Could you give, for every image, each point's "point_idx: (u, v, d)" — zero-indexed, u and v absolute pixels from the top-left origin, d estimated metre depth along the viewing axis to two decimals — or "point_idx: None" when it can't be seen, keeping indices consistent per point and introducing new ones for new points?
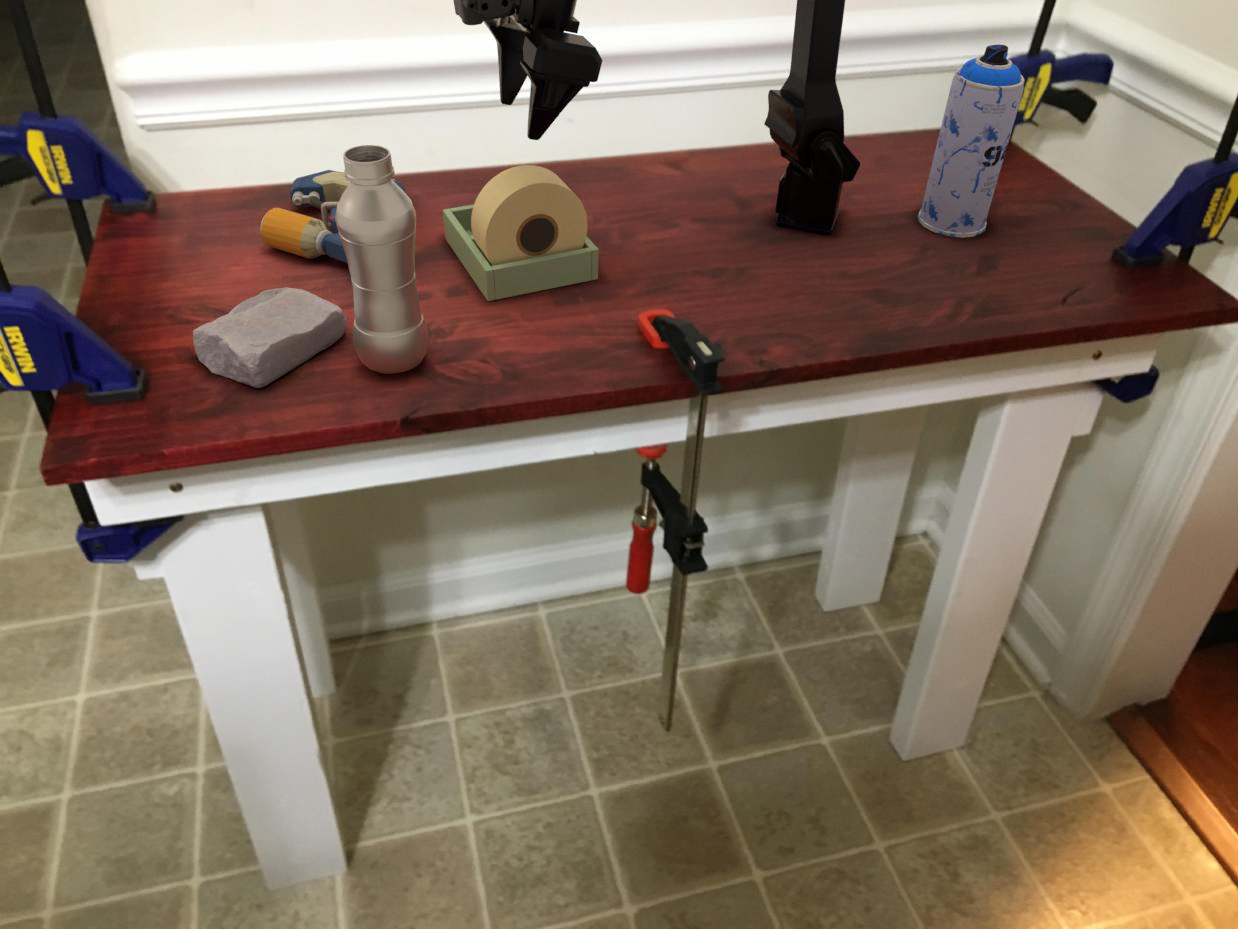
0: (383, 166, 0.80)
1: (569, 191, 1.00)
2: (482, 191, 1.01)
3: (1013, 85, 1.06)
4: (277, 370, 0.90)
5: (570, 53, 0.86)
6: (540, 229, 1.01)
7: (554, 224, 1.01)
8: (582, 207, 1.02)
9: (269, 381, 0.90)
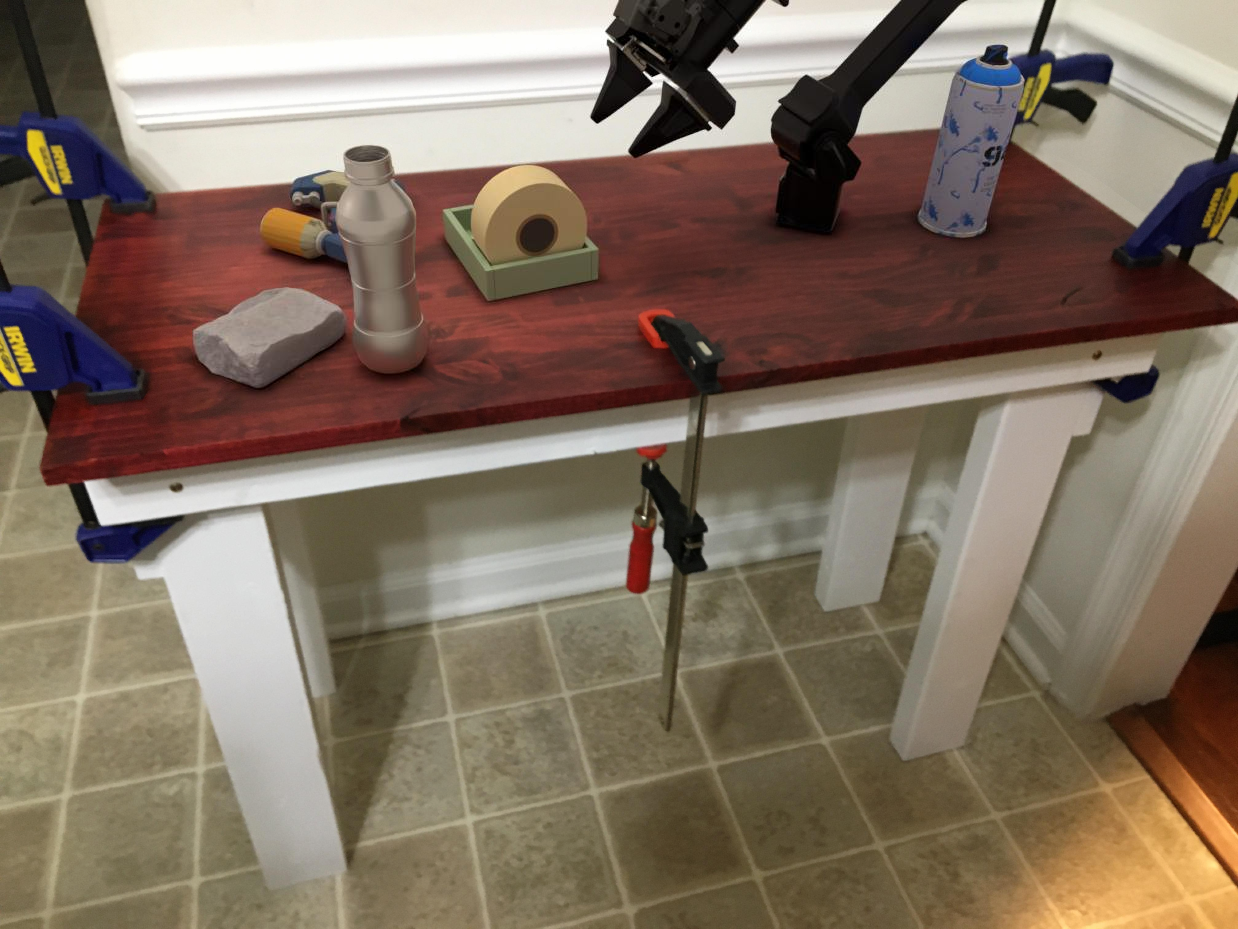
0: (383, 166, 0.80)
1: (568, 191, 1.00)
2: (482, 191, 1.01)
3: (1013, 85, 1.06)
4: (277, 370, 0.90)
5: (719, 93, 0.92)
6: (540, 229, 1.01)
7: (554, 224, 1.01)
8: (582, 207, 1.02)
9: (269, 381, 0.90)
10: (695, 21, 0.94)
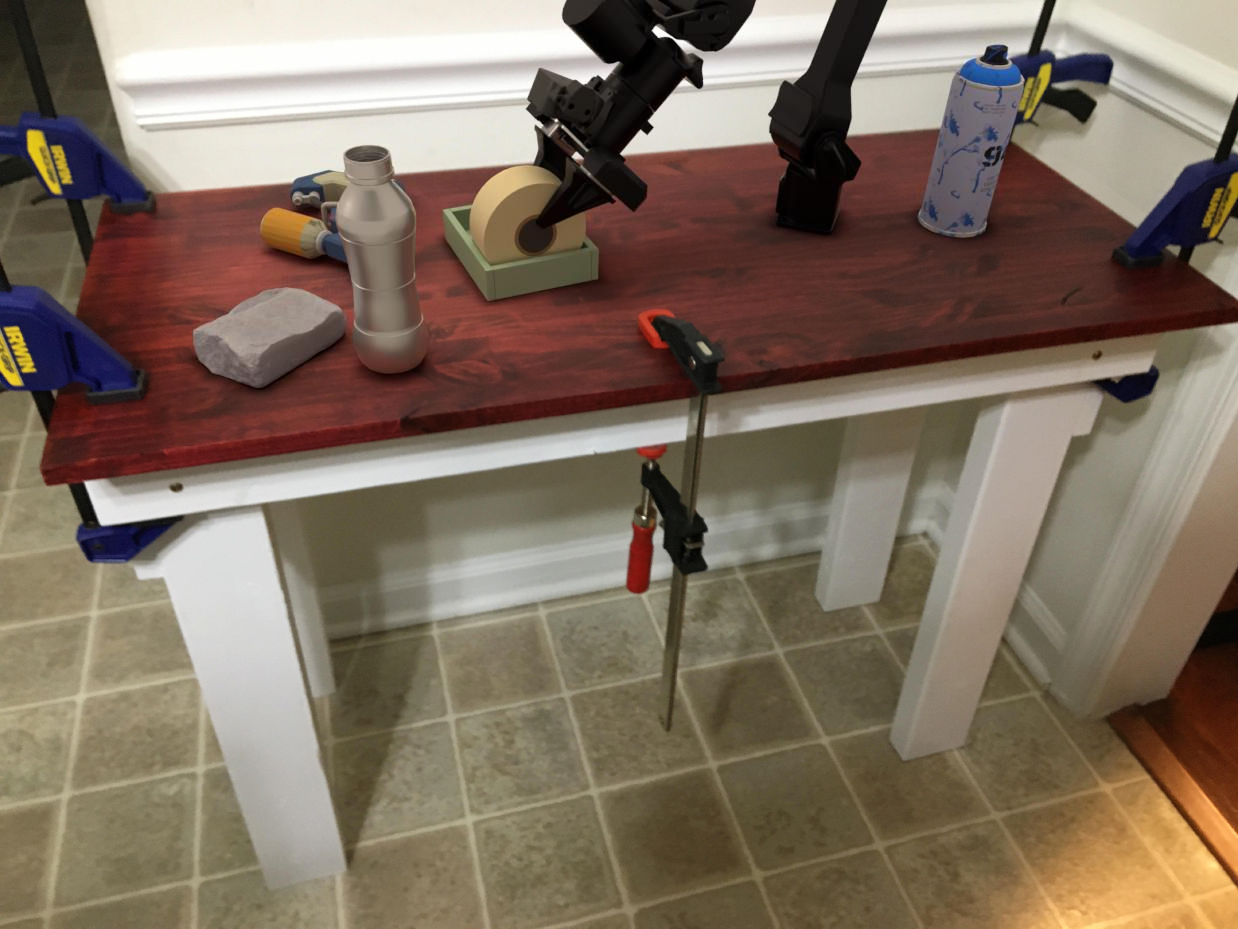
0: (383, 166, 0.80)
1: None
2: (479, 193, 1.01)
3: (1013, 85, 1.06)
4: (277, 370, 0.90)
5: (629, 179, 0.94)
6: (538, 229, 1.01)
7: None
8: None
9: (269, 381, 0.90)
10: (607, 106, 0.96)
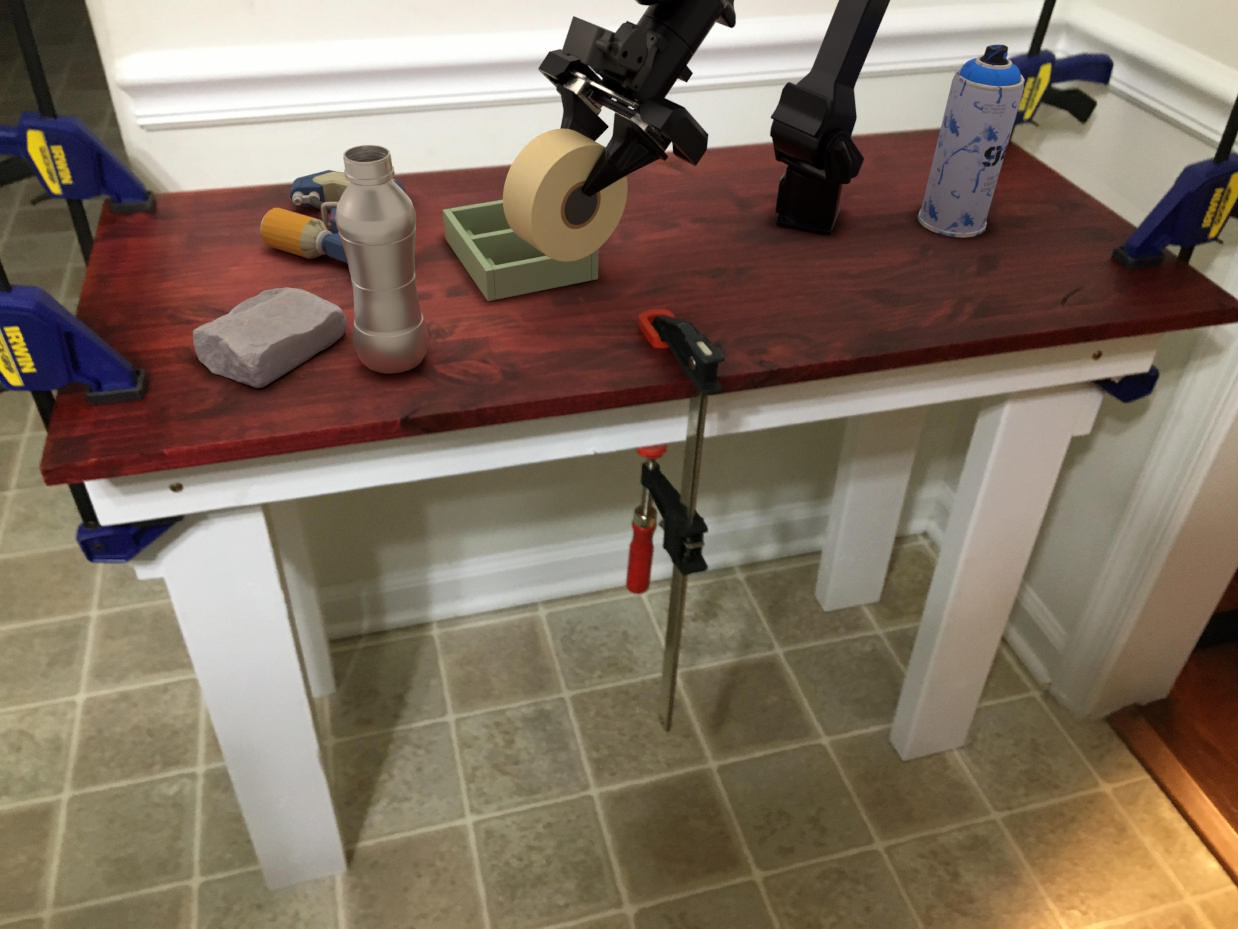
0: (383, 166, 0.80)
1: None
2: (514, 164, 0.90)
3: (1013, 85, 1.06)
4: (277, 370, 0.90)
5: (694, 128, 0.86)
6: (583, 197, 0.91)
7: None
8: None
9: (269, 381, 0.90)
10: (652, 52, 0.87)
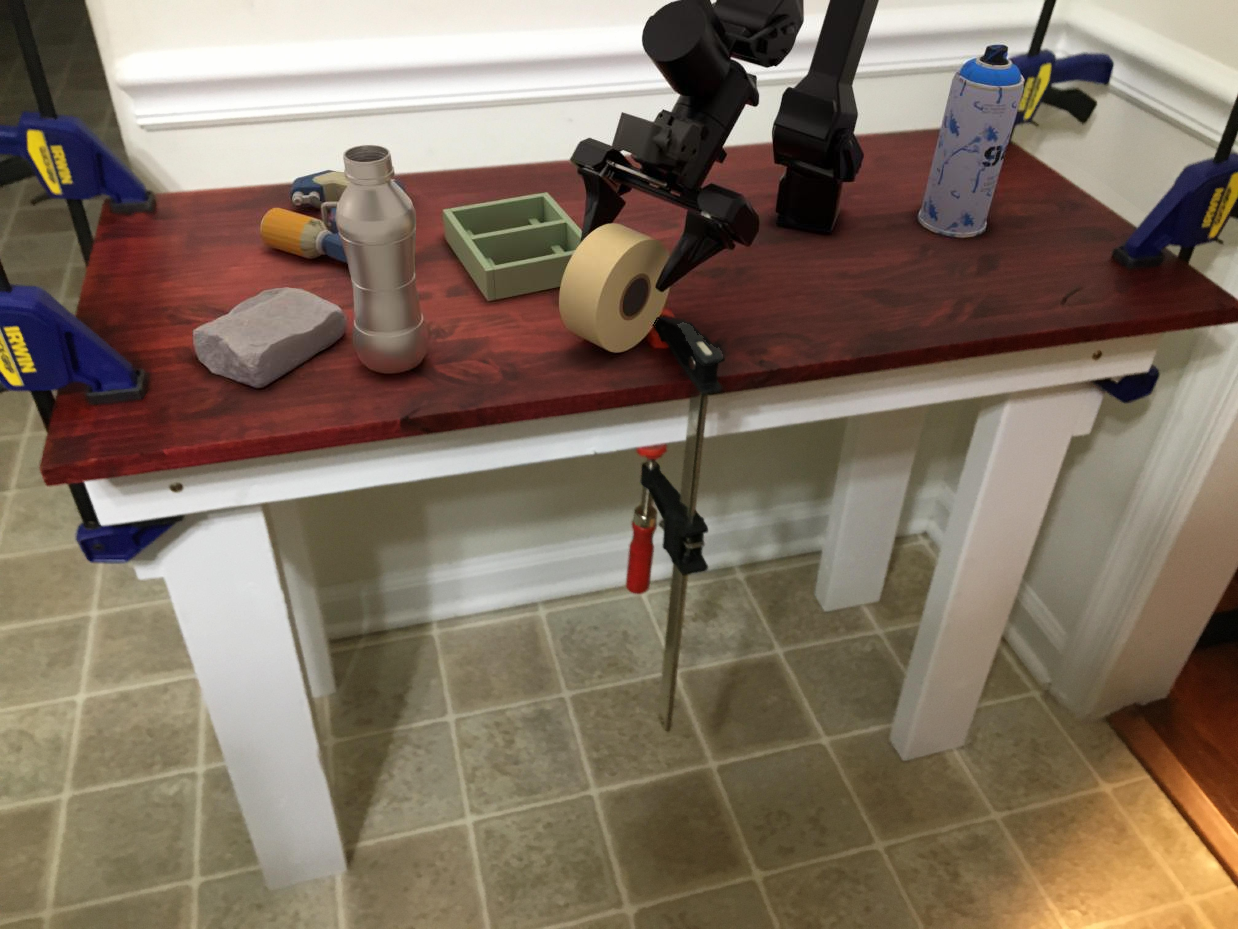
0: (383, 166, 0.80)
1: (659, 242, 0.92)
2: (569, 267, 0.90)
3: (1013, 85, 1.06)
4: (277, 370, 0.90)
5: (751, 213, 0.88)
6: (637, 289, 0.93)
7: (648, 281, 0.93)
8: (668, 255, 0.94)
9: (269, 381, 0.90)
10: None
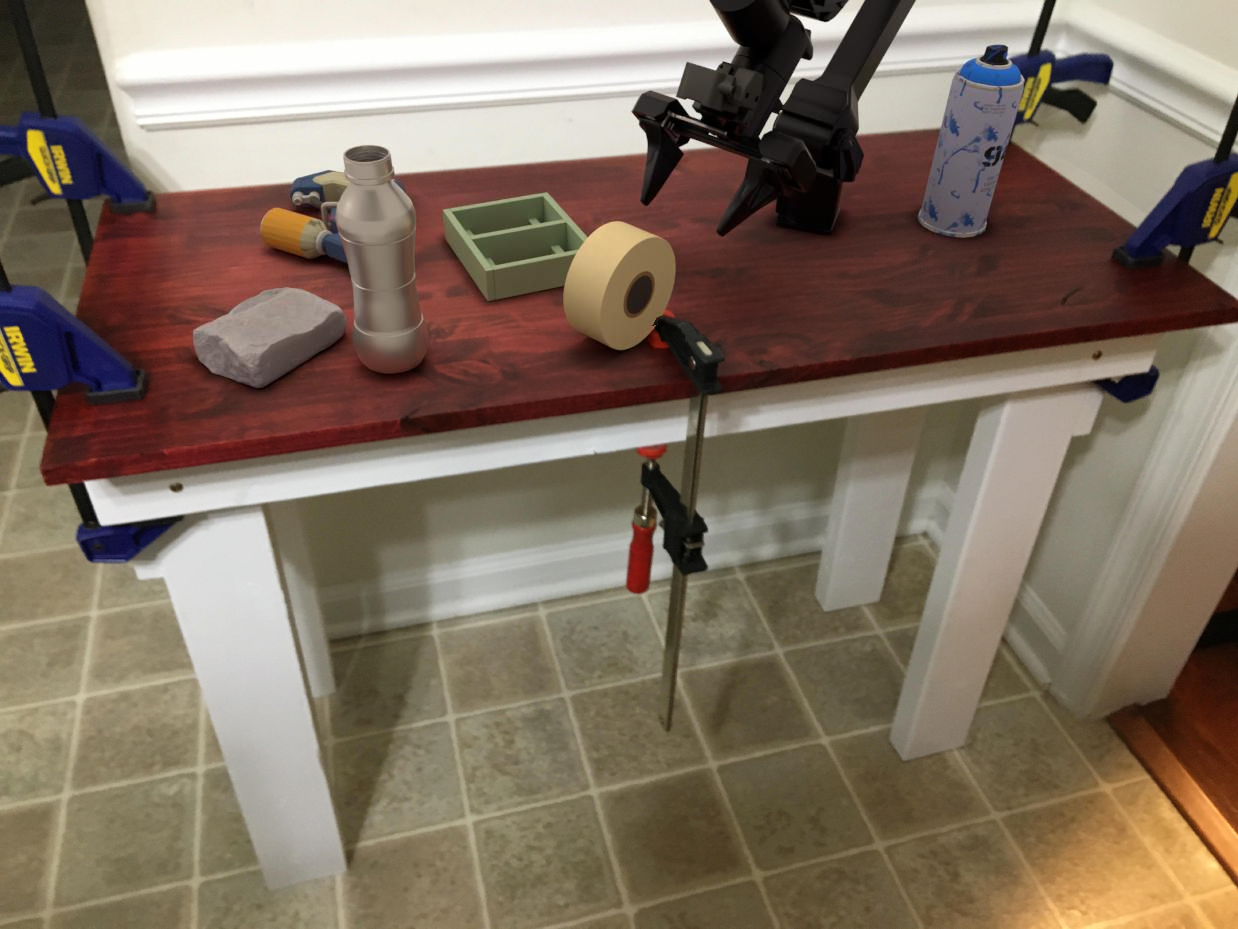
0: (383, 166, 0.80)
1: (666, 242, 0.93)
2: (577, 258, 0.90)
3: (1013, 85, 1.06)
4: (277, 370, 0.90)
5: (809, 159, 0.92)
6: (642, 287, 0.93)
7: (652, 280, 0.94)
8: (673, 257, 0.95)
9: (269, 381, 0.90)
10: None
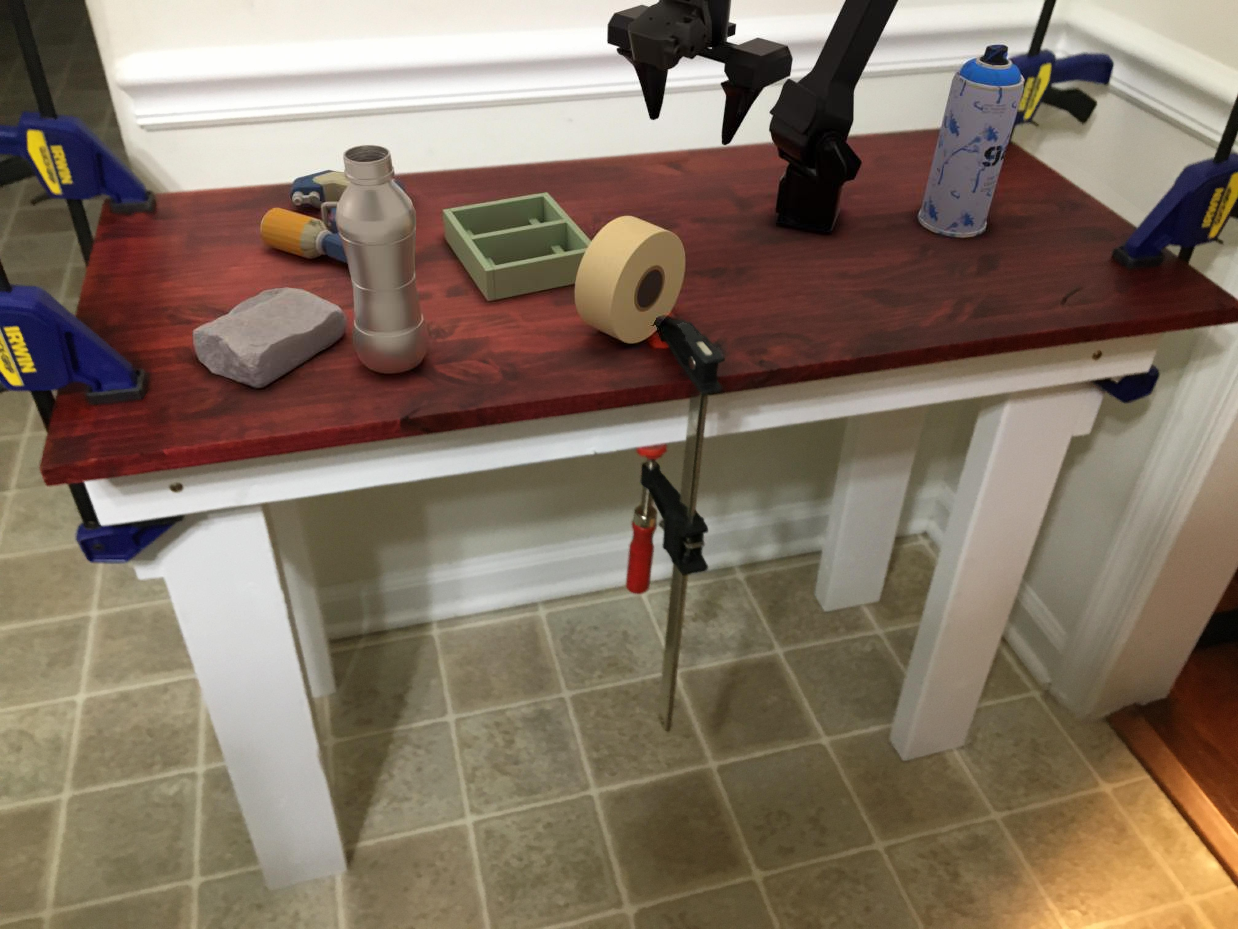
0: (383, 166, 0.80)
1: (681, 244, 0.95)
2: (597, 238, 0.91)
3: (1013, 85, 1.06)
4: (277, 370, 0.90)
5: (777, 60, 0.93)
6: (653, 282, 0.94)
7: (663, 278, 0.95)
8: (684, 263, 0.97)
9: (269, 381, 0.90)
10: (705, 8, 0.93)
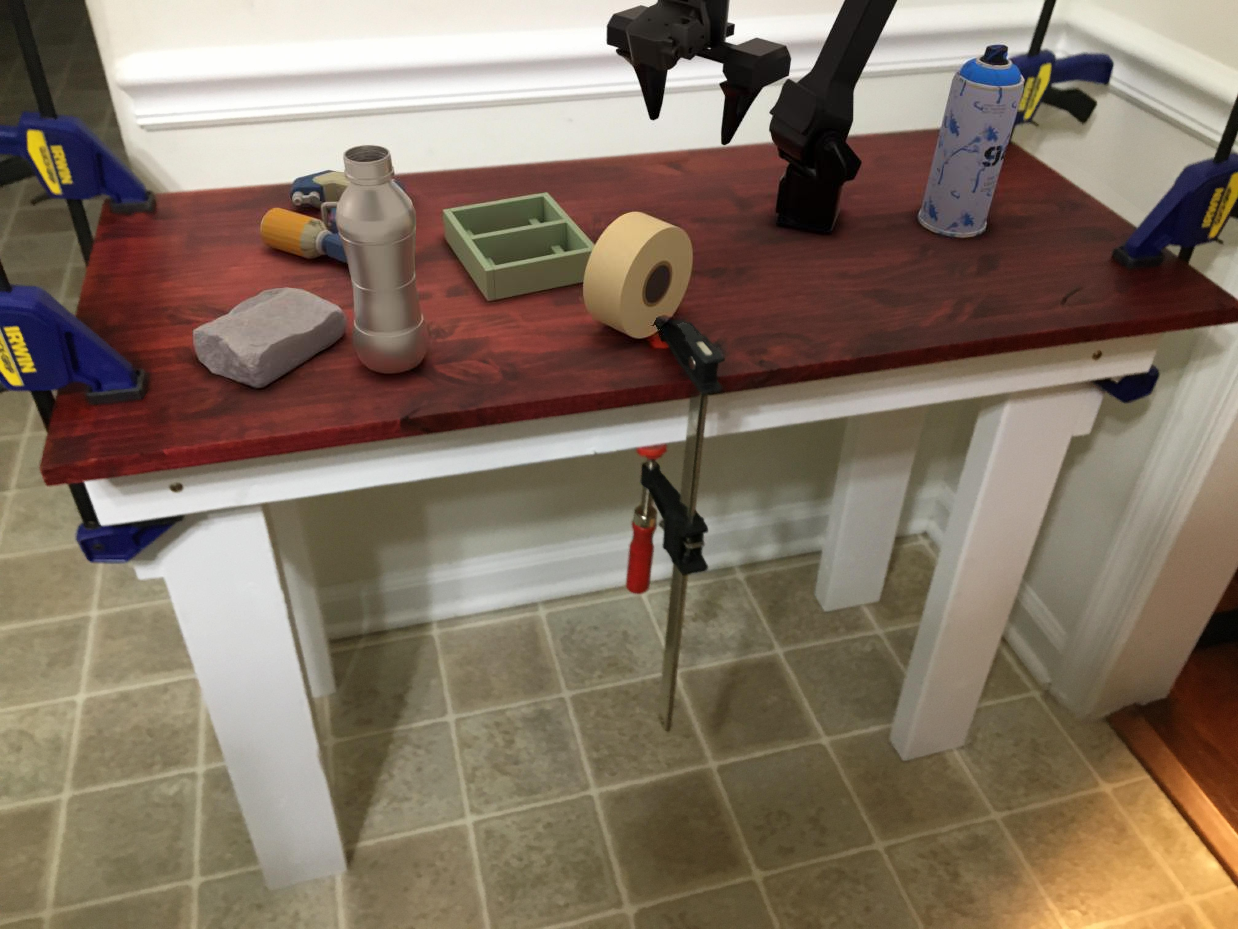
0: (383, 166, 0.80)
1: (691, 248, 0.97)
2: (613, 225, 0.92)
3: (1013, 85, 1.06)
4: (277, 370, 0.90)
5: (775, 60, 0.93)
6: (661, 278, 0.95)
7: (670, 278, 0.96)
8: (691, 269, 0.98)
9: (269, 381, 0.90)
10: (703, 9, 0.93)
